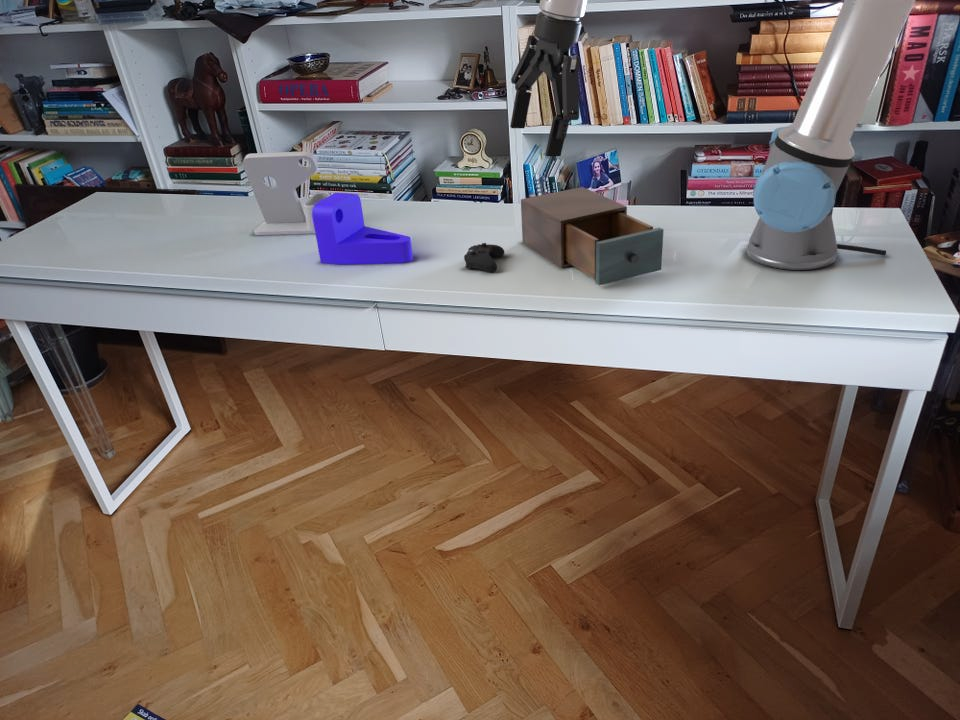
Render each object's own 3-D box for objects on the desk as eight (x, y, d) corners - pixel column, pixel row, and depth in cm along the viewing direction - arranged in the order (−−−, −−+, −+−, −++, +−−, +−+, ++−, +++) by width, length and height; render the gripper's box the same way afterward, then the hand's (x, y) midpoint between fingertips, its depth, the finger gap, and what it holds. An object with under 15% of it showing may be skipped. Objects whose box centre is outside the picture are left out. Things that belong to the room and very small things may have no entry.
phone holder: (338, 218, 174) (325, 141, 165) (326, 233, 165) (311, 152, 157) (268, 220, 176) (252, 144, 168) (252, 235, 168) (234, 155, 159)
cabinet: (625, 252, 143) (627, 206, 138) (561, 268, 138) (560, 220, 134) (582, 229, 156) (582, 186, 152) (522, 243, 151) (520, 199, 147)
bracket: (320, 262, 149) (310, 206, 144) (349, 244, 158) (340, 189, 152) (399, 270, 143) (391, 211, 137) (424, 250, 152) (417, 194, 146)
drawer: (665, 271, 131) (667, 231, 128) (602, 287, 127) (603, 246, 124) (614, 244, 145) (615, 207, 141) (556, 258, 141) (555, 220, 137)
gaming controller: (498, 269, 137) (474, 247, 136) (479, 287, 140) (456, 266, 139) (507, 250, 146) (484, 229, 145) (489, 267, 148) (467, 247, 147)
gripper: (506, -5, 128) (486, 116, 140) (580, 33, 111) (550, 168, 123) (543, -2, 131) (520, 117, 144) (620, 36, 114) (587, 168, 126)
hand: (534, 141), depth 133 cm, fingers open, 13 cm apart
